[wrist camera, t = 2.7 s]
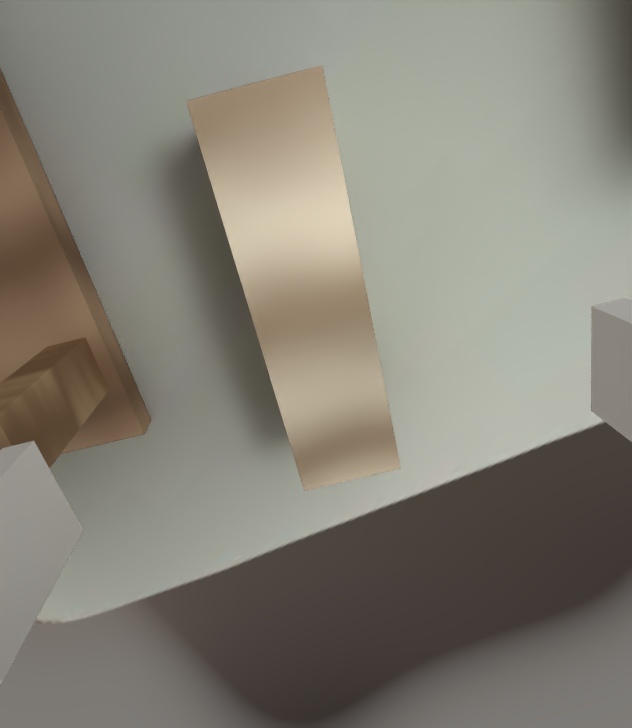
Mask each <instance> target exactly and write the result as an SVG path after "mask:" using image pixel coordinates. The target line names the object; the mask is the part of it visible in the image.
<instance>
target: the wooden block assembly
mask: <svg viewBox="0 0 632 728" xmlns="http://www.w3.org/2000/svg"><path fill="white" fill-rule="evenodd" d="M150 422H151V418H150V416H149V413H148V411H147V409H146V406H145V404H144V402H143V399H142V397H141V395H140V392H139V390H138V388H137V385H136V383H135V381H134V379H133V376H132V374H131V372H130V369H129V367H128V365H127V362H126V360H125V358H124V355H123V353H122V351H121V348H120V346H119V344H118V341H117V339H116V337H115V334H114V332H113V330H112V327H111V325H110V323H109V320H108V318H107V316H106V313H105V311H104V309H103V306H102V304H101V302H100V299H99V297H98V295H97V292H96V290H95V288H94V285H93V283H92V281H91V278H90V276H89V274H88V271H87V269H86V267H85V264H84V262H83V260H82V257H81V255H80V253H79V250H78V248H77V246H76V243H75V241H74V239H73V236H72V234H71V232H70V230H69V227H68V225H67V223H66V220H65V218H64V216H63V213H62V211H61V209H60V206H59V204H58V202H57V199H56V197H55V195H54V192H53V190H52V188H51V185H50V183H49V181H48V178H47V176H46V174H45V171H44V169H43V167H42V164H41V162H40V160H39V157H38V155H37V153H36V150H35V148H34V146H33V143H32V141H31V139H30V136H29V134H28V132H27V129H26V127H25V125H24V122H23V120H22V118H21V115H20V113H19V111H18V108H17V106H16V104H15V101H14V99H13V97H12V94H11V92H10V90H9V87H8V85H7V83H6V81H5V78H4V76H3V74H2V71H1V69H0V450H1V449H2V448H6V447H10V446H14V445H18V444H22V443H26V442H30V441H34V442H35V444H36V445H37V447H38V449H39V451H40V453H41V454H42V456H43V458H44V460H45V462H46V463H47V465H48V467H49V468H50V467H51V466H52V464H53V463H54V462H55V460H56V459H57V458H58V457H59V455H60V454H62V453H67V452H71V451H75V450H79V449H84V448H88V447H92V446H96V445H101V444H105V443H109V442H113V441H118V440H122V439H126V438H130V437H135V436H139V435H143V434H145V432H146V430H147V428H148V426H149V424H150Z"/></svg>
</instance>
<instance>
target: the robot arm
mask: <svg viewBox="0 0 632 728" xmlns="http://www.w3.org/2000/svg"><path fill="white" fill-rule="evenodd" d="M591 411H592V412H594V413H595V414H596V415H597V416H599V417H600V418H601V419H603V420H604V421H605V422H607V423H608V424H609V425H610V426H612V427H613V428H614V429H616V430H617V431H618V432H619V433H621V434H622V435H624V436H625V437H626V438H627V439H628V440H630V441H631V442H632V301H631V300H629V299H626V298H624V299H620V300H615V301H611V302H607V303H603V304H599V305H595V306H592V336H591ZM82 533H83V529H82V527H81V525H80V523H79V521H78V520H77V518H76V516H75V514H74V512H73V511H72V509H71V507H70V505H69V503H68V502H67V500H66V498H65V496H64V494H63V492H62V491H61V489H60V487H59V485H58V483H57V482H56V480H55V478H54V476H53V474H52V473H51V471H50V469H49V467H48V465H47V463H46V462H45V460H44V458H43V456H42V454H41V453H40V451H39V449H38V447H37V445H36V444H35V442H34V441H30V442H26V443H22V444H18V445H14V446H10V447H6V448H2V449H1V450H0V685H1V683H2V681H3V679H4V677H5V675H6V673H7V672H8V670H9V668H10V666H11V664H12V662H13V661H14V659H15V657H16V655H17V653H18V651H19V649H20V648H21V646H22V644H23V642H24V640H25V638H26V636H27V635H28V633H29V631H30V629H31V627H32V625H33V623H34V622H35V620H36V618H37V616H38V614H39V612H40V610H41V609H42V607H43V605H44V603H45V601H46V599H47V597H48V596H49V594H50V592H51V590H52V588H53V586H54V584H55V583H56V581H57V579H58V577H59V575H60V573H61V571H62V570H63V568H64V566H65V564H66V562H67V560H68V558H69V557H70V555H71V553H72V551H73V549H74V547H75V546H76V544H77V542H78V540H79V538H80V536H81V534H82Z"/></svg>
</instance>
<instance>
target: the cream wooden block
mask: <svg viewBox="0 0 632 728" xmlns="http://www.w3.org/2000/svg"><path fill="white" fill-rule="evenodd" d="M186 103H187V106H188V109H189V113H190V116H191V119H192V122H193V126H194V129H195V132H196V136H197V139H198V142H199V145H200V149H201V152H202V155H203V159H204V162H205V165H206V169H207V172H208V175H209V178H210V182H211V185H212V188H213V192H214V195H215V198H216V202H217V205H218V208H219V211H220V215H221V218H222V221H223V225H224V228H225V231H226V234H227V238H228V241H229V244H230V248H231V251H232V254H233V258H234V261H235V264H236V267H237V271H238V274H239V277H240V281H241V284H242V287H243V291H244V294H245V297H246V300H247V304H248V307H249V310H250V314H251V317H252V320H253V323H254V327H255V330H256V333H257V337H258V340H259V343H260V347H261V350H262V353H263V356H264V360H265V363H266V366H267V370H268V373H269V376H270V380H271V383H272V386H273V389H274V393H275V396H276V399H277V403H278V406H279V409H280V412H281V416H282V419H283V422H284V426H285V429H286V432H287V436H288V439H289V442H290V445H291V449H292V452H293V455H294V459H295V462H296V465H297V469H298V472H299V475H300V478H301V482H302V485H303V488H304V491H306V490H311V489H315V488H319V487H323V486H328V485H332V484H336V483H341V482H345V481H349V480H354V479H358V478H362V477H366V476H371V475H375V474H379V473H384V472H388V471H392V470H397V469H401V467H400V462H399V457H398V452H397V447H396V441H395V436H394V431H393V426H392V421H391V416H390V411H389V405H388V400H387V395H386V390H385V385H384V380H383V375H382V370H381V364H380V359H379V354H378V349H377V344H376V339H375V334H374V328H373V323H372V318H371V313H370V308H369V303H368V298H367V293H366V287H365V282H364V277H363V272H362V267H361V262H360V257H359V252H358V246H357V241H356V236H355V231H354V226H353V221H352V216H351V210H350V205H349V200H348V195H347V190H346V185H345V180H344V175H343V169H342V164H341V159H340V154H339V149H338V144H337V139H336V134H335V128H334V123H333V118H332V113H331V108H330V103H329V98H328V92H327V87H326V82H325V77H324V72H323V67H322V65H321V66H317V67H313V68H310V69H306V70H302V71H298V72H294V73H290V74H287V75H283V76H279V77H275V78H271V79H268V80H264V81H260V82H256V83H252V84H248V85H245V86H241V87H237V88H233V89H229V90H226V91H222V92H218V93H214V94H210V95H206V96H203V97H199V98H195V99H191V100H187V101H186Z"/></svg>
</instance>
